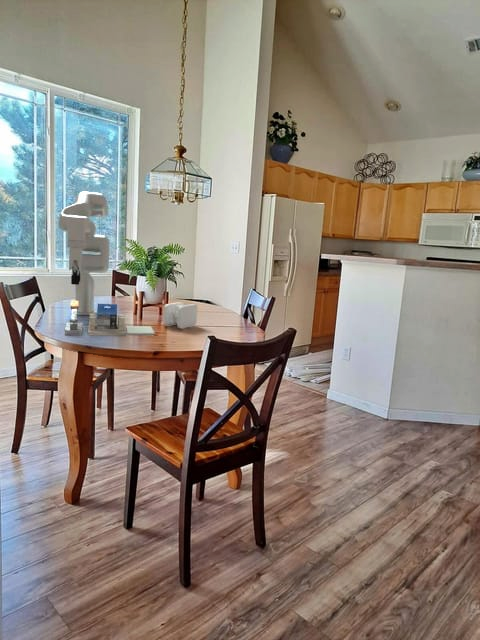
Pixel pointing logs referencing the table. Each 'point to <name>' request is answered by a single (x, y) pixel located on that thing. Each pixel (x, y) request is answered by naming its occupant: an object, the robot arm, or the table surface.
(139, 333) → the tray
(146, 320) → the table surface
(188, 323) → the cable organizer
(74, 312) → the lever
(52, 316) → the table surface
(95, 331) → the holder
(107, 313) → the blue box
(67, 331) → the base
